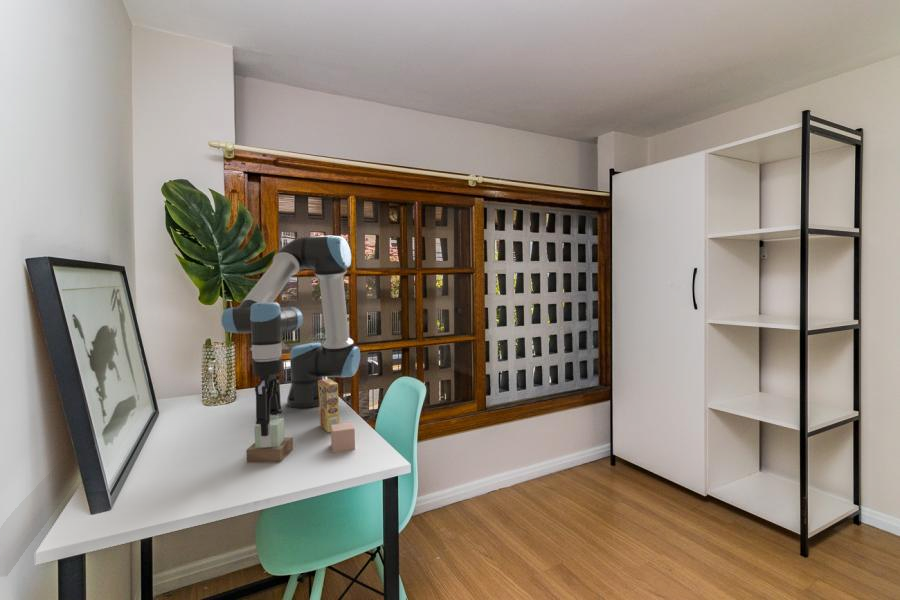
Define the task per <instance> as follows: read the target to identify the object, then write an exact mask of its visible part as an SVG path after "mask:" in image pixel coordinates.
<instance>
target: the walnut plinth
mask: <svg viewBox="0 0 900 600" xmlns="http://www.w3.org/2000/svg"><path fill="white" fill-rule="evenodd" d="M293 439H294V438H293V436H292V437H290V436H289V437H285V439H284V440H283V442H282V443H281V444H280V445H279V447H267V448H255V442H254V443H252V445H250V446H249V447H248V448H246V463H247V464H250V463H252V464H254V463H255V464H256V463H258V464H259V463H260V464H261V463H264V464H265V463H267V464H268V463H271V464H272V463H273V464H274V463H276V464H277V463H281V462H283V460H285V458H287V456H288V455H289V454H290V453H291V452H292V451H293V450H294V443H293V442H294V440H293Z"/></svg>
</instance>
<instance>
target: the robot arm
mask: <svg viewBox="0 0 900 600" xmlns="http://www.w3.org/2000/svg"><path fill="white" fill-rule="evenodd" d="M351 264H352V253H351V248H350V246H349V243H348V241H347V240H346V239H345V238H344V236H343V237H342V236H340V235H318V236H317V235H316V236H300V237H297V238H295V239H293V240H291V241H289V242H288V243H286V244H285V245H283V246H282V247H281V248H280V249H279V250H278V251H277V252H276V253H275V255H274V256H273V257H272V263H271V265H270V266H269V267H268V269H266V271H265V272H264V273H263V274H262V276H261V277H260V279H259V280H258V281H257V283H255V284H254V286H253V287H252V289H251V290H250V292H248V294H247V295H246V296H245V297H244V299H243V300H242V301H241V303H240V304H239V305H238V306H237V307H235V306H234V307H228V308H227V309H225V310H224V311H223V312H222V314H221V326H222V327H223V329H224V331H225V332H228V333H233V334H234V333H235V334H251V347H250V348H249V351H251V357H252V359H253V361H251V365H252V367H251V368H252V374H253V375H254V376H259V380H258V383H257V384H258V385H257V386H255V387H254V392H255V407H256V408H255V414H256V415H255V418H256V420H255V425H256V424H260V444H261V447H272V435H271V422H270V419H274V418H280V416H279V415H281V414H282V411H283V410H281V409H282V406H281V405H282V403H281V390H280V389H281V388H280V387H281V385H280V384H281V383H280V379H281V377H280V375H278V374H280V373H281V372H283V360H282V358H281V357H283V350H282V349H283V347H282V334H283V335H284V334H286V333H287V334H288V333H292V332H295V331H297V330H298V329H300V328H301V327H302V325H303V321H304V317H303V314H302V312H301V310H300V309H299V308H297V307H295V306H284V307H281V304H280V303H279V302H277V301H275V300H276V299H277V297H278V296H279V295H280V293H281V292H282V290H283V289H284V287H285V286H286V285H287V283H288V282H289V281H290V279H291V277H292V276H295V275H297V274H298V272H299V271H300V270H304V269H313V270H314V271H313V273H314V275H315V276H316V277H317V278H318V280H319V289H320V297H321V298H320V299H321V306H322V307H321V308H322V314H323V316H322V317H323V325H324V326H323V327H324V334H325V335H324V336H325V340H324V342H323V343H321V342H319V341H317V342H309V343H304V344H299V345H296V346H295V345H294V346H293V347H292V348H291V349H290V353H289V360H290V361H289V362H290V381H291V382H290V388H289V392H288V394H287V395H288V396H287V399H286V405H287V407H290V408H293V409H308V408H315V407H319V393H318V380H323V378H350V377H353V376H355V375H356V374H357V371H358V369H359V366H360V362H361V350H360V347H359V346H357V345H356V346H355V343H354V339H352V338H351V337H350V335H349V333H350V332H349V323H348V315H347V313H348V312H347V304H346V303H347V302H346V293H345V281H344V276H345V275H346V273H347V272H348V270H347V269H348V268H349V267H351Z"/></svg>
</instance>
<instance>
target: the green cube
mask: <svg viewBox="0 0 900 600" xmlns="http://www.w3.org/2000/svg"><path fill="white" fill-rule="evenodd" d="M270 422H271V435H272V447H279V445H280V444H281V443H282V442H283V440H284V439H285V418H284V417H281V418H280V417H279V418H274V419H270ZM254 443H255V448H267V447H261V444H260V424H256V423H255V424H254Z"/></svg>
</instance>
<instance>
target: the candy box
mask: <svg viewBox="0 0 900 600" xmlns="http://www.w3.org/2000/svg"><path fill="white" fill-rule="evenodd" d="M318 393H319V406H318V410H319V411H318V412H319V426H321V428H323V430H324V431H326V432H327V433H331V425H334V424H340V407H339V406H340V404H339V403H340V402H339V384H338V383H337V382H336V381H334V380H333V379H331V378H324V379H323V378H322V380H318Z"/></svg>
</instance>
